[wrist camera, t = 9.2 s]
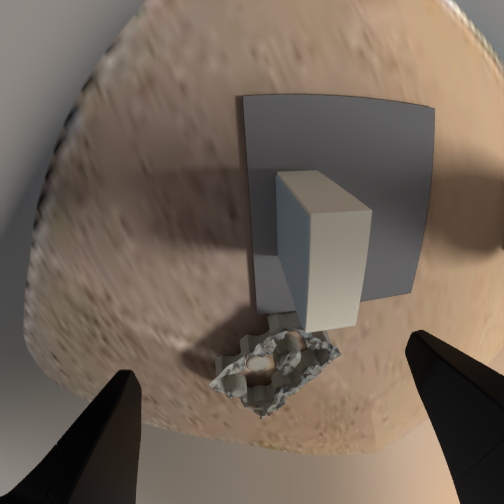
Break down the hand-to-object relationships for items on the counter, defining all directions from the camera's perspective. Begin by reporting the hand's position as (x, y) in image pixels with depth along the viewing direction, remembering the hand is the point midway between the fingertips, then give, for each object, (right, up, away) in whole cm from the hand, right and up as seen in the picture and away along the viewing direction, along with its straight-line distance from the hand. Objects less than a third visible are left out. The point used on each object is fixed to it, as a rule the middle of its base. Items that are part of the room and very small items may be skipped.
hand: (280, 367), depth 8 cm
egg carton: (+1, -5, +18) cm, 19 cm away
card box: (+2, +6, +11) cm, 13 cm away
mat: (+6, +6, +12) cm, 15 cm away
